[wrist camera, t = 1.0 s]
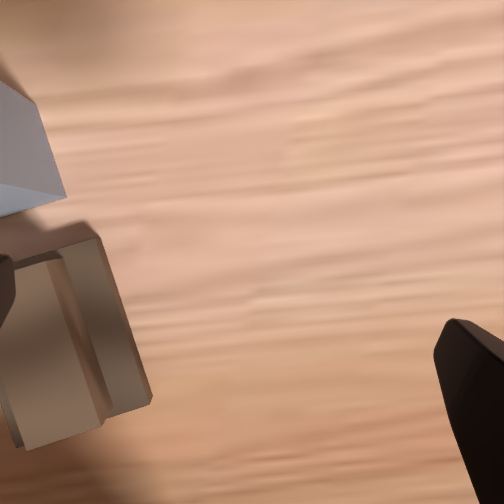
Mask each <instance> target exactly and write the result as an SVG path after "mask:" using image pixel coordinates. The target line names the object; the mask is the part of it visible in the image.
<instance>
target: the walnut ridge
mask: <svg viewBox="0 0 504 504" xmlns="http://www.w3.org/2000/svg"><path fill="white" fill-rule="evenodd" d="M14 271H15V284H16V297H15V301H14V303H13V305H12V307H11V309H10V311H9V313H8V315H7V317H6V319H5V321H4V323H3V325H2V327H1V329H0V404H1V407H2V409H3V412H4V415H5V418H6V421H7V424H8V426H9V429H10V432H11V435H12V438H13V441H14V443H15V446H16V448H18V447H21V446H24V445H25V448H26V451H28V450H32V449H35V448H38V447H41V446H44V445H47V444H50V443H53V442H56V441H59V440H62V439H65V438H68V437H71V436H74V435H77V434H80V433H83V432H87V431H90V430H93V429H96V428H99V427H101V426H102V425H103V423H104V421H105V420H106V419H107V418H110V417H113V416H116V415H119V414H122V413H125V412H129V411H132V410H135V409H138V408H141V407H144V406H147V405H149V404H150V402H151V399H152V397H153V395H152V392H151V389H150V386H149V383H148V380H147V377H146V374H145V371H144V368H143V365H142V362H141V359H140V356H139V353H138V350H137V347H136V344H135V341H134V338H133V334H132V331H131V328H130V325H129V322H128V319H127V316H126V313H125V310H124V307H123V304H122V301H121V298H120V295H119V292H118V289H117V286H116V283H115V280H114V277H113V274H112V271H111V268H110V265H109V262H108V259H107V256H106V253H105V250H104V247H103V244H102V241H101V238H93V239H90V240H86V241H83V242H80V243H76V244H73V245H70V246H67V247H63V248H60V249H57V250H53V251H50V252H47V253H43V254H40V255H37V256H34V257H30V258H27V259H24V260H20V261H17V262H14Z"/></svg>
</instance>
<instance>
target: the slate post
mask: <svg viewBox="0 0 504 504" xmlns="http://www.w3.org/2000/svg"><path fill="white" fill-rule="evenodd" d="M65 198H67V195H66V192H65V189H64V186H63V183H62V180H61V177H60V174H59V171H58V168H57V165H56V162H55V159H54V156H53V153H52V150H51V147H50V144H49V141H48V138H47V135H46V132H45V129H44V126H43V123H42V120H41V117H40V114H39V111H38V108H37V105H36V104H34V103H33V102H31V101H30V100H28V99H27V98H25V97H24V96H22V95H21V94H20V93H18V92H17V91H15V90H14V89H12V88H11V87H9V86H8V85H6V84H5V83H4V82H2V81H1V80H0V218H1V217H4V216H8V215H11V214H15V213H18V212H21V211H25V210H28V209H31V208H35V207H38V206H42V205H45V204H48V203H52V202H55V201H58V200H62V199H65Z"/></svg>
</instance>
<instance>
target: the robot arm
mask: <svg viewBox="0 0 504 504" xmlns="http://www.w3.org/2000/svg"><path fill="white" fill-rule="evenodd" d="M15 297H16V284H15V271H14V262H13V259H12V258H11V257H10V256H9V255H5V254H0V329H1V327H2V325H3V323H4V321H5V319H6V317H7V315H8V313H9V311H10V309H11V307H12V305H13V303H14V301H15ZM433 357H434V363H435V367H436V371H437V375H438V379H439V383H440V387H441V391H442V395H443V399H444V403H445V407H446V411H447V414H448V418H449V421H450V424H451V427H452V430H453V433H454V436H455V439H456V441H457V444H458V447H459V450H460V452H461V455H462V458H463V460H464V463H465V466H466V469H467V471H468V474H469V477H470V479H471V482H472V485H473V487H474V490H475V493H476V496H477V498H478V501H479V504H504V341H502V340H501V339H499V338H497V337H496V336H494V335H492V334H491V333H489V332H487V331H486V330H484V329H483V328H481V327H479V326H478V325H476V324H474V323H473V322H471V321H468V320H462V319H455V318H452V319H450V320H448V321H447V322H446V324H445V326H444V328H443V330H442V332H441V335H440V337H439V339H438V341H437V344H436V346H435V348H434V354H433Z"/></svg>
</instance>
